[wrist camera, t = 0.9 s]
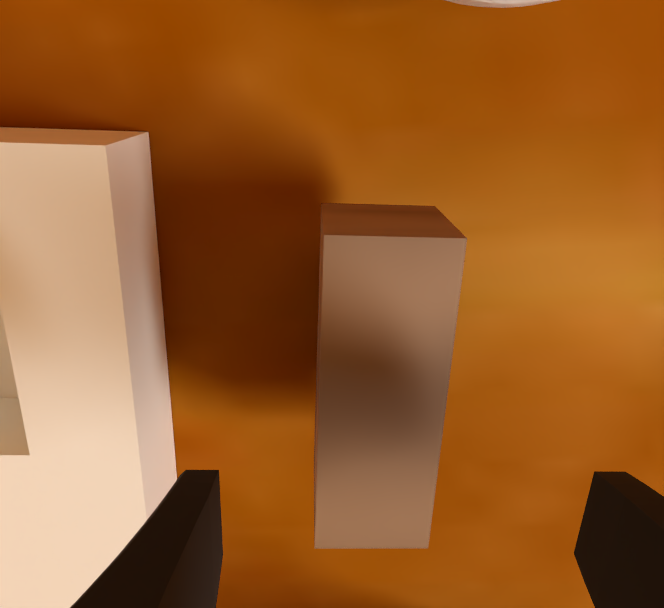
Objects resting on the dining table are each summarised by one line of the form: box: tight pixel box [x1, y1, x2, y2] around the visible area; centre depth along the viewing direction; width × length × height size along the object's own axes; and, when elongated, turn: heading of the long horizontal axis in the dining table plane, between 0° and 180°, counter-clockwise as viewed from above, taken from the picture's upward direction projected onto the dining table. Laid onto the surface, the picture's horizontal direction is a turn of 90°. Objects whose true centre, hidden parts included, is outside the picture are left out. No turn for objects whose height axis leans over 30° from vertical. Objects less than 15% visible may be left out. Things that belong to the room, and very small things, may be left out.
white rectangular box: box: [0, 127, 177, 608], centre depth 19 cm, size 18×10×4 cm, turn 178°
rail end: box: [314, 203, 467, 548], centre depth 17 cm, size 9×3×6 cm, turn 178°
